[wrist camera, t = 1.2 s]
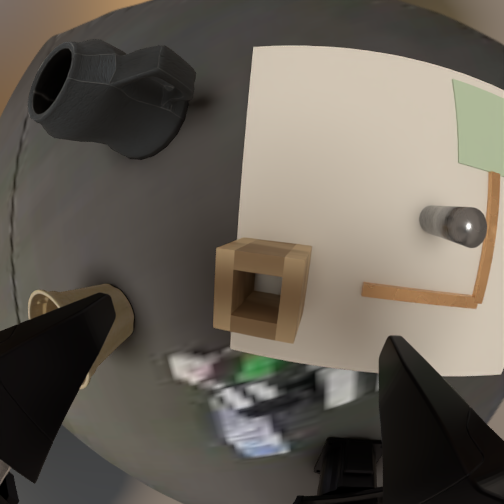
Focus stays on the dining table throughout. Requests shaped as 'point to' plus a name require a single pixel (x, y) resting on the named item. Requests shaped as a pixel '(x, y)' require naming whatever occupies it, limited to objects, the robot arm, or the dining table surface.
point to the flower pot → (53, 300)
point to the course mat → (373, 202)
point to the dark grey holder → (112, 96)
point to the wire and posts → (461, 232)
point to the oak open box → (255, 302)
